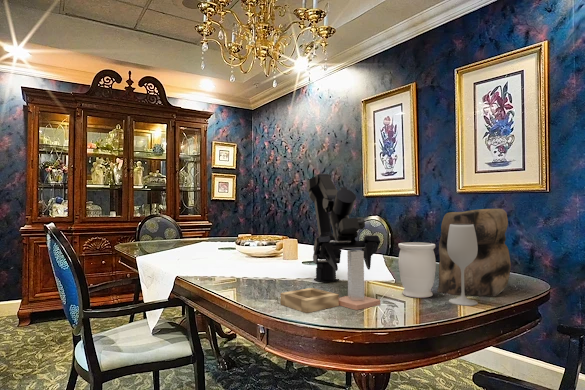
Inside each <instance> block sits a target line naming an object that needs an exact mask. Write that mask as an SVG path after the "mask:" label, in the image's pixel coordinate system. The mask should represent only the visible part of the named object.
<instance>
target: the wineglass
mask: <svg viewBox="0 0 585 390" xmlns="http://www.w3.org/2000/svg"><path fill="white" fill-rule="evenodd" d="M447 252H448V255H449V257H450V258H451V260H452V261H453V262H454V263H455V264H456V265H458V266H459V267H460V269H461V289H462V292H461V295H459V297H458V298H457V297H455V298H450V299H449V300H448V302H449V304H453V305H457V306H462V307H463V306H467V307H470V306H471V307H472V306H477V305H478V304H479V302H478V301H476V300H475V299H470V298H468V297H467V295H465V293H464V270H465V268H466V267H467V266H468V265H469V264H470V263H472V262H473V261H474V259H475V258H476V256H477V252H478V245H477V238H476V233H475V228H474V225H473V224H450V227H449V232H448V240H447Z"/></svg>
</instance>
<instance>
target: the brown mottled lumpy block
mask: <svg viewBox="0 0 585 390" xmlns="http://www.w3.org/2000/svg"><path fill="white" fill-rule="evenodd" d="M450 224H473V225H474V228H475V233H476V238H477V245H478V252H477V256H476V258H475V259H474V261H473V262H472V263H470V264H469V265H468V266H467V267H466V268H465V270H464V293H465V296H475V297H485V296H486V297H496V296H498V295H499V294H500V293H501V292H503V291H504V289H506V287H507V285H508V283H509V280H510V274H511V267H512V264H511V258H510V257H511V256H510V250H509V247H508V246H507V244H506V242H507V238H506V233H507V229H508V225H509V220H508V214H507V212H506V211H505V209H503V208H482V209H471V210H470V209H469V210H466V211H451V212H447V213H445V214H444V216H443V218H442V221H441V226H440V230H441V232H440V234H441V236H440V238H439V242H438V244H439V245H438V254H439V264H438V287H437V290H436V292H437V293H441V294H446V295H453V296H461V292H462V289H461V269H460V267H459V266H458V265H456V264H455V263H454V262H453V261H452V260H451V258H450V257H449V255H448V252H447V240H448V232H449V227H450Z"/></svg>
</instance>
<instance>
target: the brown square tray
mask: <svg viewBox="0 0 585 390" xmlns="http://www.w3.org/2000/svg"><path fill="white" fill-rule="evenodd" d="M339 295H340V294H339V293H334V292H331V291H327V290H323V289H319V288H316V287H307V288H302V289H297V290H290V291H283V292H280V305H282V306H284V307H287V308H290V309H293V310H297V311H299V312H302V313H305V314H308V313H313V312H317V311H318V312H319V311H322V310H325V309H326V308H327V309H330V308H335V307H339V306H340V305H339V297H340V296H339Z"/></svg>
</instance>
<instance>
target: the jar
mask: <svg viewBox="0 0 585 390" xmlns="http://www.w3.org/2000/svg"><path fill="white" fill-rule="evenodd" d="M398 248H399V249H400V250H399V254H398V272H399V275H400V276H399V277H400V281H401V285H402V287H403V291H402V294H403V296H406V297H409V298H410V297H411V298H416V299H417V298H419V299H423V298H424V299H425V298H429V297H432V296H433V295H434V294H433V292H432V288H433V286H434V284H435V277H436V269H437V259H436V255H435V251H434V249H435V248H436V244H435V243H431V242H424V241H423V242H421V241H420V242H419V241H417V242H416V241H413V242H411V241H410V242H409V241H408V242H400V243H398Z"/></svg>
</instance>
